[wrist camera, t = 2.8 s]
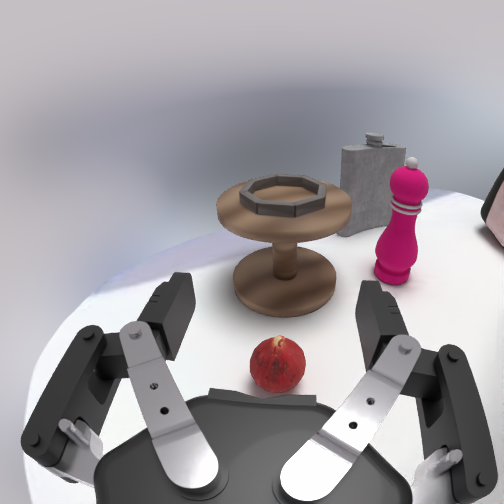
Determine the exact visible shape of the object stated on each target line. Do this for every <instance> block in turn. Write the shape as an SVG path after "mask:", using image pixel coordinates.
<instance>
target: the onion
mask: <svg viewBox="0 0 504 504" xmlns="http://www.w3.org/2000/svg"><path fill="white" fill-rule="evenodd" d="M305 366H306V361H305V357H304V353H303V350H302V349H301V348H300V347H299V346H298V345H297V344H296V343H295V342H294V341H292V340H290V339H287V338H284V337H283V336H280V335H279V336H277V337H274V338H270V339H267V340H265V341H263V342H261V343H260V344H259V345H258V346H257V347H256V348H255V349H254V351H253V354H252V356H251V359H250V373H251V375H252V377H253V379H254V381H255V382H256V384H257V385H259V386H260V387H261V388H263V389H264V390H266V391H269V392H274V393H279V392H284V391H288V390H290V389H291V388H293V387H294V386H296V385H297V384H298V382H299V381H300V380H301V378H302V377H303V375H304V372H305Z"/></svg>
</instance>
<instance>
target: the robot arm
mask: <svg viewBox="0 0 504 504" xmlns="http://www.w3.org/2000/svg"><path fill="white" fill-rule="evenodd" d="M195 304H196V300H195V294H194V288H193V282H192V276H191V274H190V273H180V272H174V274H173V275H172V277H171V279H170V280H169V282H163V283H162V284H161V285H159V286H158V287H157V288H156V289H155V291H154V293H153V294H152V296H151V297H150V299H149V302H147V304H146V306H145V307H144V309H143V311H142V313H141V314H140V316H139V318H138V319H137V321H134V322H130V323H128V324H126V325H125V326H124V327H123V328H122V329H121V331H120V332H118V333H108V334H104V333H103V331H102V329H101V328H100V327H99V326H96V325H90V326H86V327H84V328H82V329H81V330H80V331H79V332H78V333H77V335H76V336H75V338H74V339H73V341H72V343H71V344H70V346H69V348H68V349H67V351H66V353H65V354H64V356H63V358H62V359H61V361H60V363H59V364H58V366H57V368H56V370H55V371H54V373H53V375H52V377H51V379H50V380H49V382H48V384H47V386H46V388H45V389H44V391H43V393H42V395H41V397H40V399H39V401H38V403H37V405H36V407H35V409H34V411H33V413H32V415H31V417H30V419H29V421H28V423H27V425H26V427H25V429H24V431H23V434H22V436H21V446H22V449H23V450H24V452H25V453H26V454H27V455H29V456H30V457H31V458H33V459H34V460H35V461H37V462H38V464H40V465H41V466H42V467H44V468H45V469H47V470H48V471H50V472H51V473H53V474H54V475H56V476H58V477H60V478H62V479H64V480H65V481H67V482H69V483H78V482H80V483H82V484H85V485H87V486H90V487H92V488H95V493H96V504H471V503H473V502H475V501H477V500H479V499H481V498H483V497H485V496H487V495H488V494H490V493H491V492H492V491H493V489H494V488H495V486H496V483H497V479H498V473H497V467H496V461H495V455H494V450H493V446H492V441H491V436H490V432H489V428H488V424H487V420H486V416H485V413H484V409H483V406H482V402H481V399H480V396H479V392H478V389H477V386H476V383H475V380H474V377H473V374H472V371H471V369H470V366H469V363H468V360H467V358H466V355H465V353H464V352H463V351H462V350H461V349H460V348H459V347H457V346H455V345H451V344H448V345H444V346H442V347H441V348H440V350H439V352H435V351H430V350H426V349H422V348H421V346H420V344H419V342H418V341H417V340H416V339H415V338H413V337H411V336H409V334H408V331H407V329H406V326H405V323H404V321H403V318H402V315H401V314H400V310H399V308H398V305H397V302H396V300H395V298H394V297H393V296H392V295H391V294H390V293H389V292H388V291H382V289H381V286H380V283H379V281H366V280H363V281H362V283H361V287H360V291H359V296H358V300H357V305H356V312H355V316H356V322H357V327H358V332H359V337H360V342H361V347H362V352H363V357H364V363H365V368H366V374H365V375H364V376H363V378H362V379H361V380H360V382H359V383H358V384H357V386H356V387H355V388H354V390H353V391H352V392H351V394H350V395H349V396H348V397H347V399H346V400H345V401H344V402H343V404H342V405H341V406H340V407H339V409H338V410H337V411H336V410H334V409H332V408H331V407H328V406H326V405H323V404H321V403H316V395H285V396H279V397H272V398H266V399H260V398H257V397H253V396H250V395H247V394H244V393H241V392H237V391H232V390H223V389H215V388H210V390H209V393H208V395H204V396H199V397H195V398H192V399H190V400H187V401H184V399H183V397H182V395H181V393H180V391H179V389H178V387H177V385H176V383H175V381H174V379H173V377H172V375H171V373H170V371H169V369H168V366H167V364H166V362H165V361H166V360H171V361H175V358H176V355H177V353H178V350H179V348H180V345H181V343H182V340H183V338H184V335H185V333H186V330H187V328H188V325H189V323H190V320H191V318H192V315H193V313H194V310H195ZM122 378H130V380H131V383H132V386H133V389H134V392H135V395H136V398H137V401H138V404H139V406H140V409H141V412H142V415H143V417H144V420H145V422H146V425H147V428H145V429H144V430H142V431H141V432H139V433H138V434H136V435H135V436H133V437H132V438H130V439H129V440H127V441H125V442H124V443H122V444H121V445H119V446H117V447H116V448H114V449H113V450H111V451H109V452H108V453H106V454H105V455H104V456H103V454H102V451H103V443H102V441H101V439H100V438H99V434H100V432H101V429H102V426H103V424H104V421H105V418H106V416H107V413H108V411H109V408H110V406H111V403H112V401H113V398H114V396H115V393H116V391H117V388H118V386H119V383H120V381H121V379H122ZM399 394H402V395H406V396H411V397H415V398H416V404H417V410H418V416H419V422H420V429H421V437H422V445H423V453H424V461H423V462H422V463H421V464H419V466H418V467H417V469H416V471H415V476H414V482H413V484H412V486H411V487H410V485H409V484H408V482H407V481H406V479H405V478H404V477H403V476H402V475H401V474H400V473H399V472H398V471H396V470H395V469H394V468H393V467H392V466H391V465H390V464H389V463H388V462H387V461H386V460H385V459H384V458H383V457H382V456H381V455H380V454H379V453H378V452H377V451H376V450H375V449H374V448H373V447H372V446H371V445H370V444H369V443H368V442H369V441H370V439H371V438H372V437H373V435H374V434H375V432H376V431H377V429H378V428H379V426H380V425H381V423H382V422H383V420H384V418H385V417H386V415H387V414H388V412H389V410H390V409H391V407H392V405H393V404H394V402H395V400H396V399H397V397H398V395H399ZM102 456H103V457H102Z"/></svg>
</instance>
